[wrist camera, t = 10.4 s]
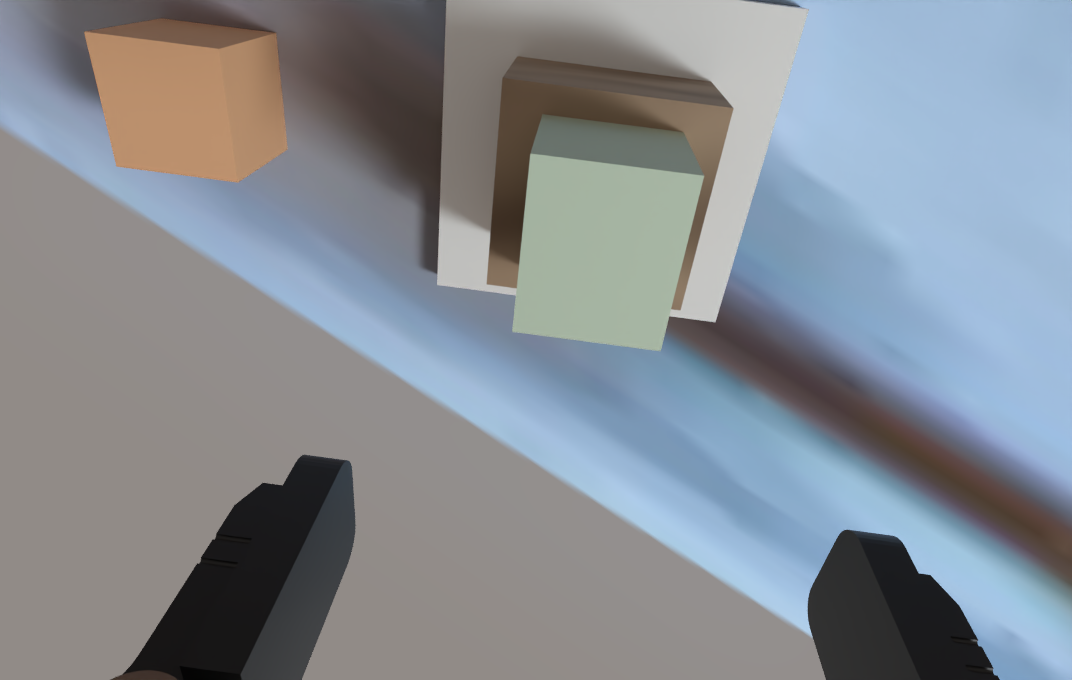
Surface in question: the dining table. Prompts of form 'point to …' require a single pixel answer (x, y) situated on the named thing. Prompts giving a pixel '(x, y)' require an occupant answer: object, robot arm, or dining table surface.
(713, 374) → the dining table surface
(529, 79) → the walnut base block
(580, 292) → the sage block
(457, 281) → the grey plate
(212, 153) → the terracotta block
